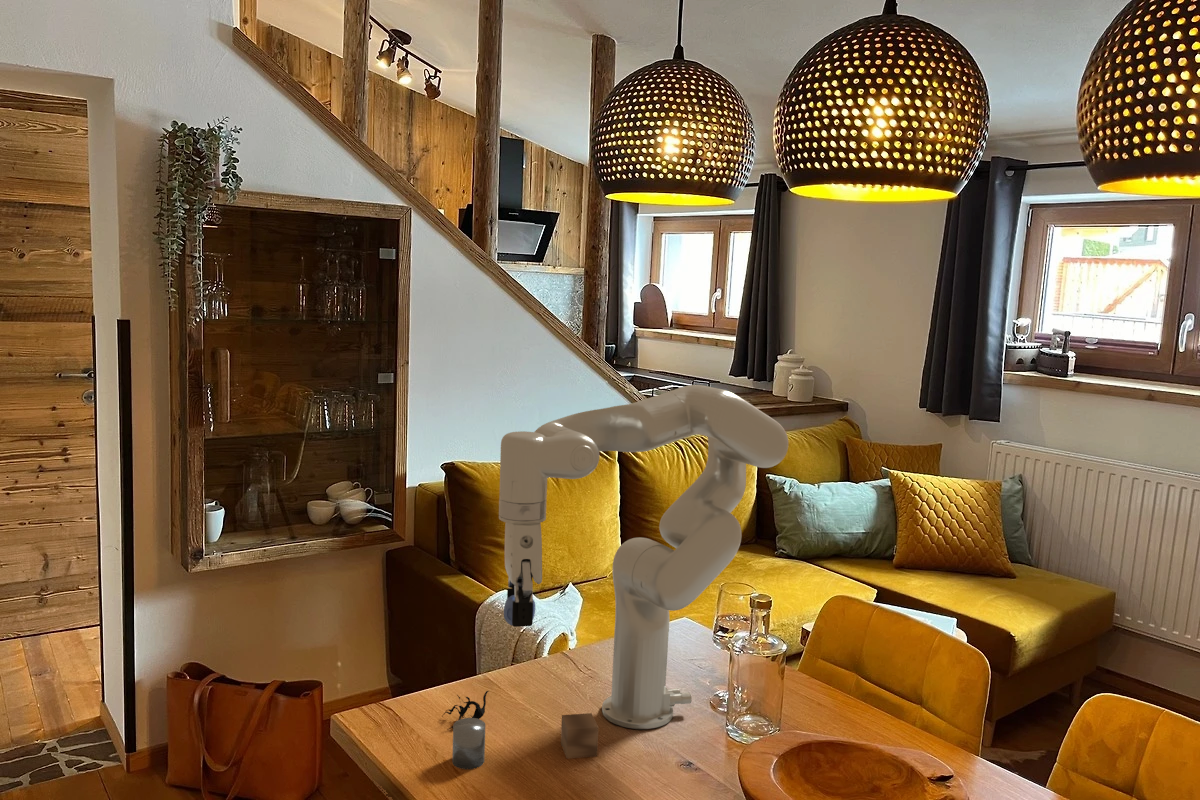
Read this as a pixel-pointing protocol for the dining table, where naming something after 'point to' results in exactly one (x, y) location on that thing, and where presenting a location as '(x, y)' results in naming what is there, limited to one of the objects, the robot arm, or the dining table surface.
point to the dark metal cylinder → (468, 743)
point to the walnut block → (579, 735)
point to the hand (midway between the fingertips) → (519, 617)
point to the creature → (478, 711)
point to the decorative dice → (509, 607)
